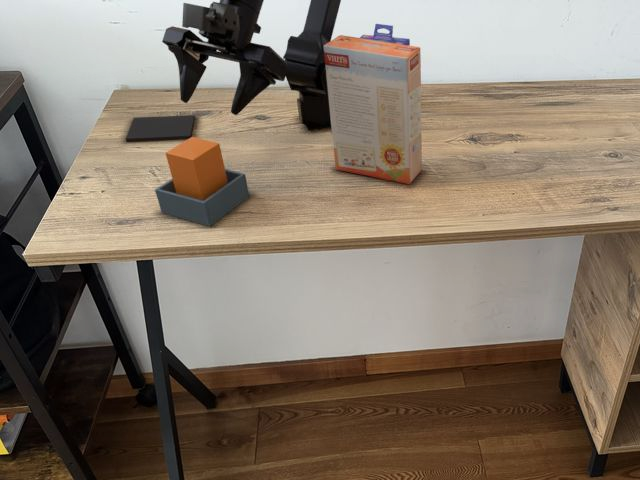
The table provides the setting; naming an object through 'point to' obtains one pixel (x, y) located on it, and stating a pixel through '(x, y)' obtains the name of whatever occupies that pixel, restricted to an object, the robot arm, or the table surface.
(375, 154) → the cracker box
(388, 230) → the table surface
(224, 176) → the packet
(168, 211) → the tote
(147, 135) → the mat
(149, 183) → the table surface
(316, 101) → the robot arm
